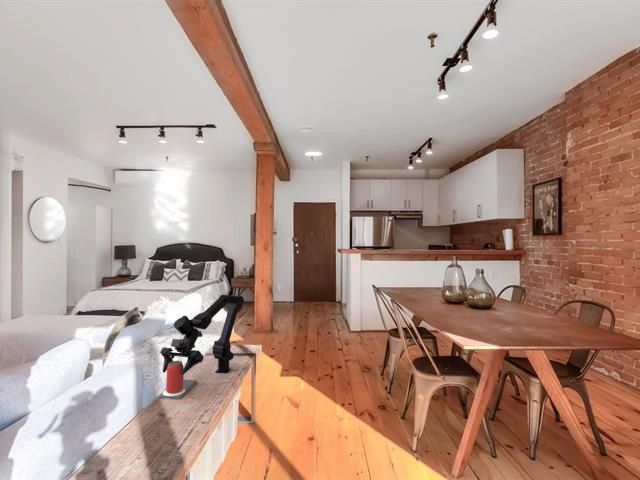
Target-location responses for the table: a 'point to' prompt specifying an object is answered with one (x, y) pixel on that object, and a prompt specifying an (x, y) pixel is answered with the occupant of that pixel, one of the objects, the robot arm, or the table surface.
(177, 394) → the charging dock
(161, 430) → the table surface
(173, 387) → the beer can
